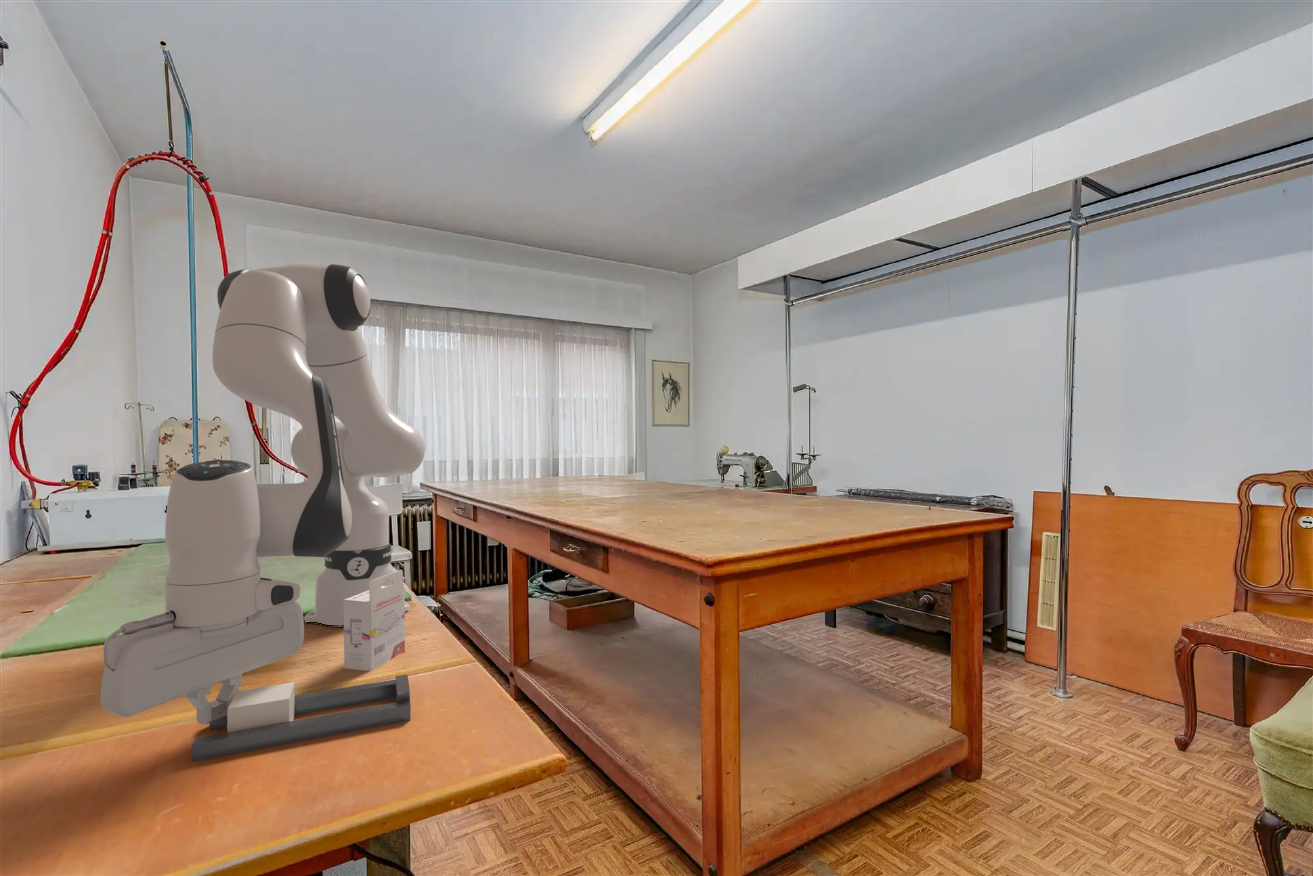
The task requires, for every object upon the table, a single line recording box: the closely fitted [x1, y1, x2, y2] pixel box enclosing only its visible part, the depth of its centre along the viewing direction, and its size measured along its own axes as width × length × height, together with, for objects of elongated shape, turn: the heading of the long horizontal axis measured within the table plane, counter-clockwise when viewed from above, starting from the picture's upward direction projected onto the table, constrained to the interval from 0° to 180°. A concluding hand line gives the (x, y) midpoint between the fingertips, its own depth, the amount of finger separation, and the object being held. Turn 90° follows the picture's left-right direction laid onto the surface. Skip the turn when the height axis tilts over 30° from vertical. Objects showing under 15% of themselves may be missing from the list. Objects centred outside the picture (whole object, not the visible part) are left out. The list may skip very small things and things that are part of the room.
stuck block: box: [226, 681, 295, 733], centre depth 70 cm, size 5×6×4 cm
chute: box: [191, 674, 412, 763], centre depth 72 cm, size 9×22×4 cm, turn 116°
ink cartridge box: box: [343, 569, 406, 672], centre depth 92 cm, size 9×5×15 cm, turn 168°
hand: (214, 718), depth 68 cm, fingers closed
